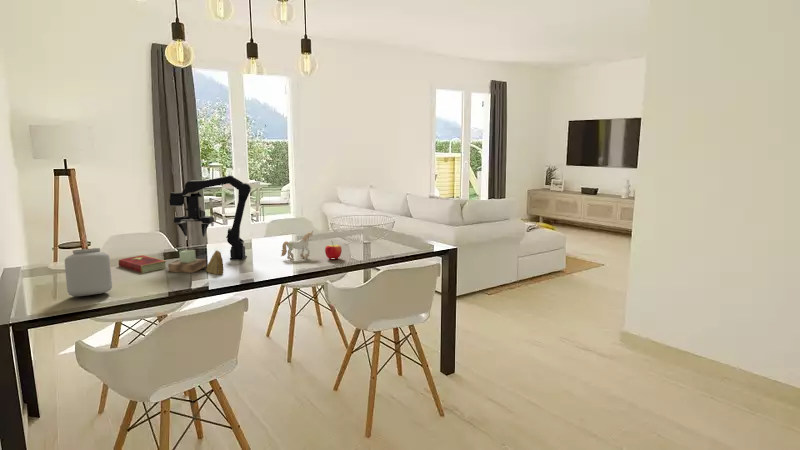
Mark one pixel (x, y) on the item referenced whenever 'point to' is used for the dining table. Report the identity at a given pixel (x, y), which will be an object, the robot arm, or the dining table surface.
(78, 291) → the jar
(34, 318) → the dining table surface
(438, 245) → the dining table surface
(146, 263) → the hardcover book
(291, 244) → the unicorn figurine
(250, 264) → the dining table surface
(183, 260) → the green cube
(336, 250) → the apple
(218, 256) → the brown tan chunky block
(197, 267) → the walnut block
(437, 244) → the dining table surface
